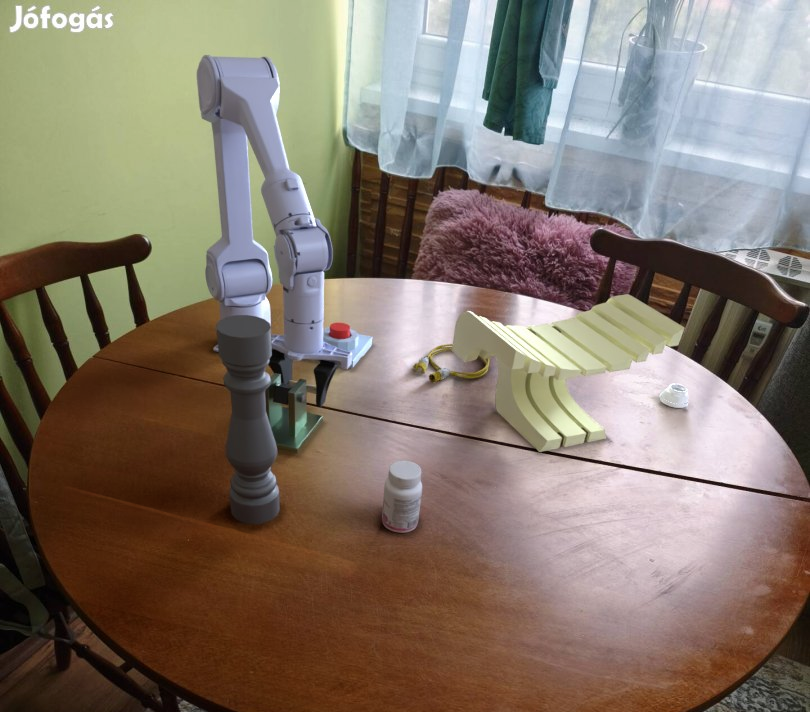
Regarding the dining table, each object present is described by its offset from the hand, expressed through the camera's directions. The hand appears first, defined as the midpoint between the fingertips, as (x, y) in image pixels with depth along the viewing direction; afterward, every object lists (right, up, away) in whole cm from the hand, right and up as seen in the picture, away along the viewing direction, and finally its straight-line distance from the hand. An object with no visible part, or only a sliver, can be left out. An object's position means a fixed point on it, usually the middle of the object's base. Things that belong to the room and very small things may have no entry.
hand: (303, 400), depth 108 cm
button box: (+4, +12, +18) cm, 22 cm away
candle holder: (-3, -18, -19) cm, 27 cm away
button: (+4, +15, +16) cm, 22 cm away
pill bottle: (+15, -20, -18) cm, 31 cm away
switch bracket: (-2, -6, -4) cm, 8 cm away
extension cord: (+24, +10, +18) cm, 31 cm away
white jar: (+63, +2, +15) cm, 65 cm away
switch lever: (-1, -1, -5) cm, 5 cm away
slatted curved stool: (+39, -2, +6) cm, 40 cm away
